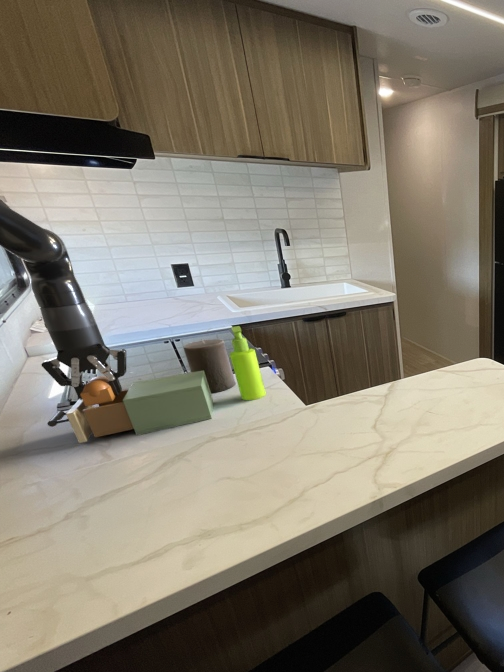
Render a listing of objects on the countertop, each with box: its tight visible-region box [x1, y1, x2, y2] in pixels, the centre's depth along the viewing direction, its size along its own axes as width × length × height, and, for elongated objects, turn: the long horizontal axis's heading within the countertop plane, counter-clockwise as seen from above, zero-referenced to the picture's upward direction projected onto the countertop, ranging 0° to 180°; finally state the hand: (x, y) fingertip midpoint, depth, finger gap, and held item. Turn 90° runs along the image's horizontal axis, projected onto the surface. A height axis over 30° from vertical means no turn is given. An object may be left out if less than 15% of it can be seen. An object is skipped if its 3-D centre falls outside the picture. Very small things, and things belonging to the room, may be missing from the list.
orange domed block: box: [80, 376, 116, 406], centre depth 92 cm, size 5×8×5 cm, turn 33°
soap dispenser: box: [229, 325, 267, 401], centre depth 109 cm, size 6×7×20 cm
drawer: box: [47, 388, 134, 444], centre depth 94 cm, size 18×12×7 cm
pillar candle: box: [183, 338, 237, 394], centre depth 117 cm, size 10×10×15 cm
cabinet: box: [123, 370, 214, 436], centre depth 100 cm, size 15×13×9 cm
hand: (102, 397), depth 93 cm, fingers closed on orange domed block, 4 cm apart
